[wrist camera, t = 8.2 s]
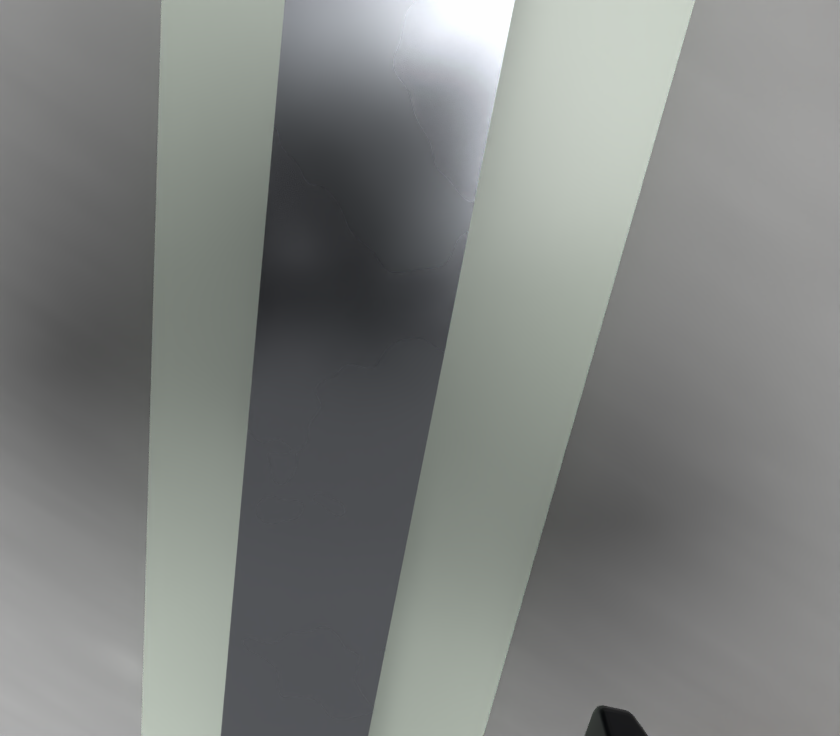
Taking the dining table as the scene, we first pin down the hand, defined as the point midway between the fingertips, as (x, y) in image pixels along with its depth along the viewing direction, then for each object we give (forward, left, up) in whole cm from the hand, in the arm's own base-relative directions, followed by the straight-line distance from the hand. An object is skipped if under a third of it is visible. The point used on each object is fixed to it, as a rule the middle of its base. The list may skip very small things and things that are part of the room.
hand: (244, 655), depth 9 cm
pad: (0, 0, -7) cm, 7 cm away
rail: (0, 0, -6) cm, 7 cm away
